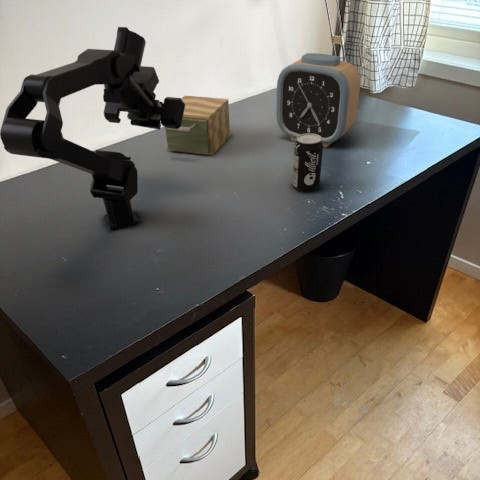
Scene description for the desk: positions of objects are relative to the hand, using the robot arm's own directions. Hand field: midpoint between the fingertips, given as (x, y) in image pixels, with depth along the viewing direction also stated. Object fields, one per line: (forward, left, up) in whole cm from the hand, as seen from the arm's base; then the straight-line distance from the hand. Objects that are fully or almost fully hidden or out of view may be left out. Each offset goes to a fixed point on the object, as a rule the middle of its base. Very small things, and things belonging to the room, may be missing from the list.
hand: (159, 127), depth 116 cm
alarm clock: (+3, -46, -13) cm, 48 cm away
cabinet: (+16, -15, -13) cm, 26 cm away
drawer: (+13, -13, -12) cm, 22 cm away
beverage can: (-22, -29, -13) cm, 39 cm away
